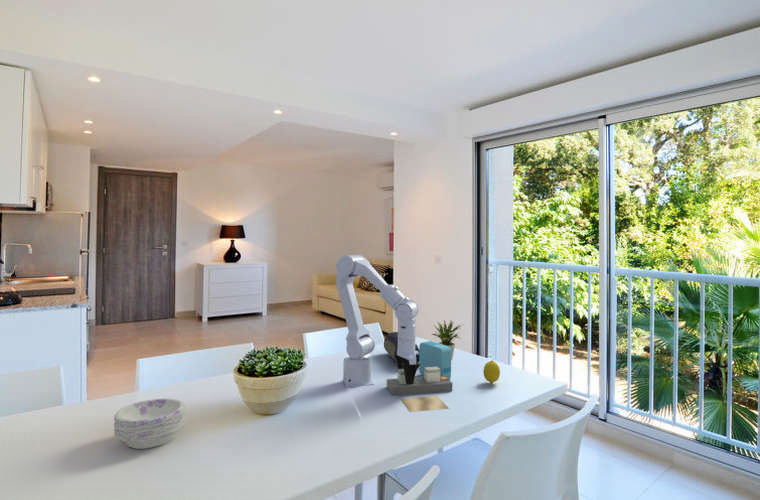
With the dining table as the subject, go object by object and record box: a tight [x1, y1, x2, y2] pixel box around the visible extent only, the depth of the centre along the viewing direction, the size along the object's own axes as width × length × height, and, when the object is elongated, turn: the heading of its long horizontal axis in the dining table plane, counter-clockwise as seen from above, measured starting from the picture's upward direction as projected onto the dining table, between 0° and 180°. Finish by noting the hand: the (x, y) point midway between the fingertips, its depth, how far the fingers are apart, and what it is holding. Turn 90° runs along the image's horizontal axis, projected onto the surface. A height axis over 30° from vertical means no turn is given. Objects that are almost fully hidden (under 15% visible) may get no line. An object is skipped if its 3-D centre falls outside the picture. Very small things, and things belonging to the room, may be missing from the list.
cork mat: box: [400, 395, 450, 413], centre depth 130 cm, size 12×10×1 cm
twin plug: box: [423, 367, 440, 383], centre depth 143 cm, size 4×3×7 cm, turn 103°
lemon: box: [483, 359, 501, 384], centre depth 149 cm, size 6×6×8 cm
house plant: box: [431, 319, 465, 361], centre depth 177 cm, size 14×14×16 cm
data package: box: [418, 340, 452, 381], centre depth 155 cm, size 12×4×12 cm, turn 36°
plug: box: [397, 368, 414, 385], centre depth 141 cm, size 4×3×7 cm, turn 103°
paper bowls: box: [113, 398, 186, 450], centre depth 106 cm, size 15×15×8 cm
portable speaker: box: [383, 331, 419, 363], centre depth 175 cm, size 25×10×10 cm, turn 14°
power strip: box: [386, 375, 453, 397], centre depth 142 cm, size 20×8×4 cm, turn 103°
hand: (406, 380), depth 141 cm, fingers open, 7 cm apart
